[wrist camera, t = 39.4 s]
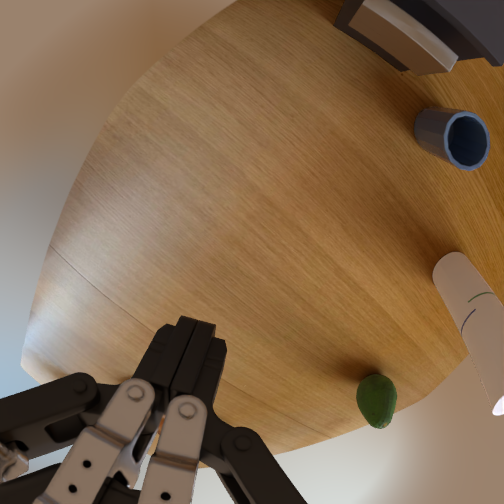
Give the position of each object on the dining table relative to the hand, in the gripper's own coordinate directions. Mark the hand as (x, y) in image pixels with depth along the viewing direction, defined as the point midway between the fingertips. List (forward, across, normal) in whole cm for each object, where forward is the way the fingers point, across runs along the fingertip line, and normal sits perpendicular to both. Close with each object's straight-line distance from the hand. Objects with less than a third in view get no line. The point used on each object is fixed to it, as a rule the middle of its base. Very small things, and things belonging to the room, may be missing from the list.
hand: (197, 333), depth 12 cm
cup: (+29, -20, -12) cm, 37 cm away
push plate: (+16, -8, -17) cm, 25 cm away
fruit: (+29, -30, +34) cm, 54 cm away
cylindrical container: (+29, -32, +7) cm, 44 cm away
